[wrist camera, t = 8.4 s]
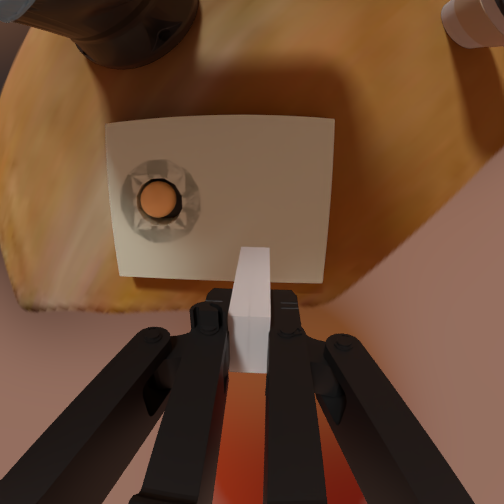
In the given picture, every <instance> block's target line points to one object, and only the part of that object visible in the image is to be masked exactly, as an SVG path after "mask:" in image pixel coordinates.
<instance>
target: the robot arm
mask: <svg viewBox="0 0 504 504" xmlns="http://www.w3.org/2000/svg"><path fill="white" fill-rule="evenodd" d="M197 7H198V0H0V21H2V22H6V23H7V22H8V23H9V22H15V23H19V24H23V25H27V26H31V27H34V28H38V29H41V30H45V31H48V32H52V33H55V34H58V35H61V36H65V37H68V38H70V39H71V40H72V41H73V42H74V43H75V44H76V46H77V48H78V49H79V50H80V52H81V53H82V54H83V55H84V56H85V57H86V58H88V59H89V60H91V61H92V62H94V63H96V64H99V65H102V66H105V67H109V68H113V69H131V68H137V67H140V66H144V65H146V64H149V63H151V62H153V61H155V60H157V59H159V58H161V57H162V56H164V55H165V54H167V53H168V52H169V51H170V50H172V49H173V48H174V47H175V46H176V45H177V44H178V43H179V42H180V41H181V40H182V39H183V37H184V36H185V35H186V33H187V32H188V30H189V29H190V27H191V25H192V23H193V21H194V18H195V16H196V12H197ZM190 320H191V331H190V332H189V333H187V334H183V335H178V336H170V333H169V332H168V331H167V330H166V329H164V328H161V327H148V328H146V329H143V330H141V331H140V332H139V333H137V334H136V335H135V336H134V337H133V338H132V339H131V340H130V341H129V343H128V344H127V345H126V346H125V347H124V348H123V349H122V350H121V351H120V352H119V353H118V354H117V355H116V356H115V357H114V358H113V359H112V360H111V361H110V362H109V363H108V364H107V365H106V366H105V367H104V369H103V370H102V371H101V372H100V373H99V374H98V375H97V376H96V377H95V378H94V379H93V380H92V381H91V382H90V383H89V384H88V385H87V386H86V388H85V389H84V390H83V391H82V392H81V393H80V394H79V395H78V396H77V397H76V398H75V399H74V401H72V402H71V404H70V405H69V406H68V407H67V408H66V409H65V410H64V411H63V412H62V414H60V415H59V417H58V418H57V419H56V420H55V421H54V422H53V423H52V424H51V425H50V426H49V427H48V428H47V430H46V431H45V432H44V433H43V434H42V435H41V436H40V437H39V438H38V439H37V440H36V442H35V443H34V444H33V445H32V446H31V447H30V448H29V450H27V452H26V453H25V454H24V455H23V456H22V457H21V458H20V459H19V460H18V462H17V463H16V464H15V465H14V466H13V467H12V468H11V469H10V471H9V472H8V473H7V474H6V475H5V476H4V477H3V479H1V480H0V504H102V502H103V501H104V500H105V498H106V497H107V495H108V494H109V492H110V491H111V489H112V488H113V486H114V485H115V484H116V482H117V481H118V479H119V478H120V476H121V475H122V473H123V472H124V470H125V469H126V468H127V466H128V464H129V463H130V462H131V460H132V459H133V457H134V456H135V454H136V453H137V451H138V450H139V448H140V447H141V445H142V444H143V442H144V441H145V439H146V438H147V436H148V435H149V433H150V432H151V430H152V429H153V427H154V426H155V424H156V423H157V421H158V420H159V418H160V417H161V415H162V414H163V412H164V411H165V412H164V415H163V418H162V421H161V425H160V428H159V431H158V434H157V438H156V441H155V444H154V448H153V451H152V454H151V458H150V461H149V464H148V468H147V472H146V475H145V479H144V482H143V485H142V489H141V491H140V492H139V493H138V494H136V495H133V496H132V498H131V499H130V501H129V504H212V500H213V492H214V485H215V477H216V469H217V463H218V455H219V448H220V440H221V433H222V425H223V418H224V410H225V404H226V396H227V389H228V382H229V380H228V379H229V378H228V370H229V371H230V372H246V373H267V376H266V391H265V395H266V413H265V414H266V415H265V452H264V486H263V504H327V497H326V487H325V477H324V468H323V459H322V451H321V442H320V434H319V426H318V418H317V410H316V403H315V395H314V393H315V394H316V398H317V400H318V402H319V404H320V406H321V408H322V411H323V413H324V415H325V417H326V418H327V421H328V423H329V425H330V427H331V429H332V431H333V433H334V435H335V438H336V440H337V441H338V443H339V446H340V448H341V450H342V452H343V454H344V456H345V458H346V460H347V462H348V464H349V466H350V468H351V470H352V473H353V474H354V477H355V479H356V480H357V483H358V485H359V487H360V489H361V491H362V493H363V495H364V497H365V499H366V501H367V503H368V504H475V503H474V502H473V500H472V499H471V497H470V496H469V494H468V493H467V491H466V490H465V488H464V487H463V485H462V484H461V482H460V481H459V479H458V478H457V476H456V475H455V473H454V472H453V470H452V469H451V467H450V466H449V464H448V463H447V462H446V460H445V459H444V457H443V456H442V454H441V453H440V451H439V450H438V448H437V447H436V446H435V444H434V443H433V441H432V440H431V439H430V437H429V436H428V434H427V433H426V431H425V430H424V429H423V427H422V426H421V424H420V423H419V421H418V420H417V419H416V417H415V416H414V415H413V413H412V412H411V410H410V409H409V408H408V406H407V405H406V403H405V402H404V401H403V399H402V398H401V396H400V395H399V394H398V392H397V391H396V389H395V388H394V387H393V385H392V384H391V383H390V381H389V380H388V379H387V377H386V376H385V374H384V373H383V372H382V371H381V369H380V368H379V367H378V365H377V364H376V363H375V361H374V360H373V358H372V357H371V356H370V354H369V353H368V352H367V350H366V349H365V348H364V346H363V345H362V344H361V342H360V341H359V340H358V339H357V338H355V337H353V336H351V335H348V334H334V335H331V336H330V337H328V338H327V340H326V342H324V341H319V340H316V339H313V338H311V337H309V336H307V335H306V333H305V331H304V329H303V328H302V327H301V322H300V315H299V309H298V301H297V296H296V295H295V294H294V293H293V291H292V290H270V248H265V247H241V250H240V255H239V260H238V265H237V270H236V275H235V281H234V286H233V289H222V288H214V289H212V290H211V291H210V292H209V293H208V294H207V297H206V301H205V302H200V303H197V304H195V305H194V306H192V307H191V309H190Z"/></svg>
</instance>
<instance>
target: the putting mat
mask: <svg viewBox="0 0 504 504" xmlns="http://www.w3.org/2000/svg"><path fill="white" fill-rule="evenodd" d="M334 129H335V119H330V118H318V117H302V116H281V115H203V116H181V117H166V118H153V119H142V120H133V121H124V122H115V123H107V124H105V139H106V160H107V175H108V188H109V199H110V209H111V218H112V226H113V234H114V242H115V249H116V255H117V262H118V268H119V274H120V276H130V277H148V278H168V279H190V280H215V281H235V275H236V270H237V265H238V260H239V255H240V250H241V247H265V248H270V282H279V283H323V274H324V265H325V256H326V246H327V236H328V225H329V213H330V200H331V186H332V171H333V152H334ZM152 179H154V180H153V181H152V182H155V181H163V182H166V183H168V184H169V185H171V186H172V188H173V189H174V191H175V193H176V205H175V207H174V209H173V210H172V211H171V212H170V213H169V214H168V215H166V216H164V217H167V218H162V217H159V218H157V217H152V216H150V215H148V214H147V213H146V212H145V211H144V210H143V208H142V206H141V201H140V198H141V194H142V191H143V190H144V188H145V187H146V186H147V185H148V184H149V183H150V181H151V180H152ZM152 182H151V183H152ZM178 214H179V215H178ZM176 215H178V216H176ZM174 216H176V217H175V218H169V217H174Z"/></svg>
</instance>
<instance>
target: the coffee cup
mask: <svg viewBox="0 0 504 504" xmlns="http://www.w3.org/2000/svg"><path fill="white" fill-rule="evenodd" d="M441 19H442V23H443V26H444V28H445V30H446V32H447V33H448V35H449V36H450V37H451V38H452V39H453V40H454V41H455V42H456V43H457V44H459V45H460V46H462V47H465V48H479V47H498V46H504V0H451V1H449V2H448V3H447V4H445V5H444V7H443V8H442V12H441Z"/></svg>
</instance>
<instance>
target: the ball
mask: <svg viewBox="0 0 504 504" xmlns="http://www.w3.org/2000/svg"><path fill="white" fill-rule="evenodd" d="M140 201H141V206H142V208H143V210H144V211H145V212H146V213H147V214H148V215H150V216H152V217H157V218H159V217H164V216H166V215H168V214H169V213H170V212H171V211H172V210H173V209H174V207H175V205H176V193H175V191H174V189H173V188H172V186H171V185H169V184H168V183H166V182H163V181H155V182H152V183H150V184H148V185H147V186H146V187H145V188H144V190H143V191H142V194H141V198H140Z"/></svg>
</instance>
